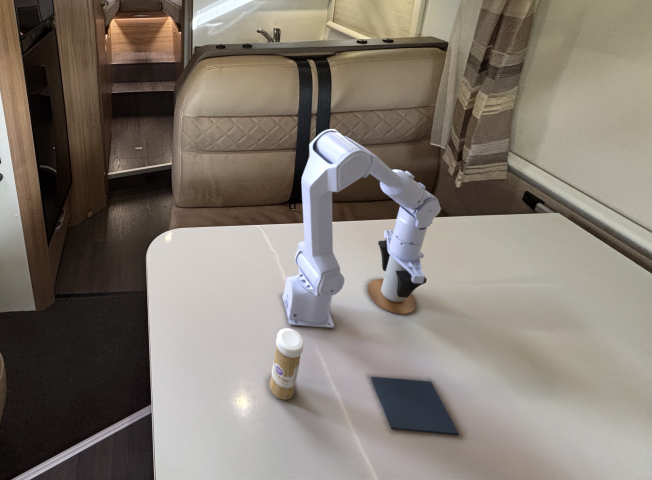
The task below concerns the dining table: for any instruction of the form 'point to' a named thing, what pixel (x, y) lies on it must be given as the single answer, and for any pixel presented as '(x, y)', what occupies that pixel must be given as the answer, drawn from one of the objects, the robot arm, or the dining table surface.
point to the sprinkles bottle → (286, 363)
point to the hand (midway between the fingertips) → (394, 282)
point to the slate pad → (413, 406)
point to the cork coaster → (386, 304)
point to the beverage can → (391, 281)
